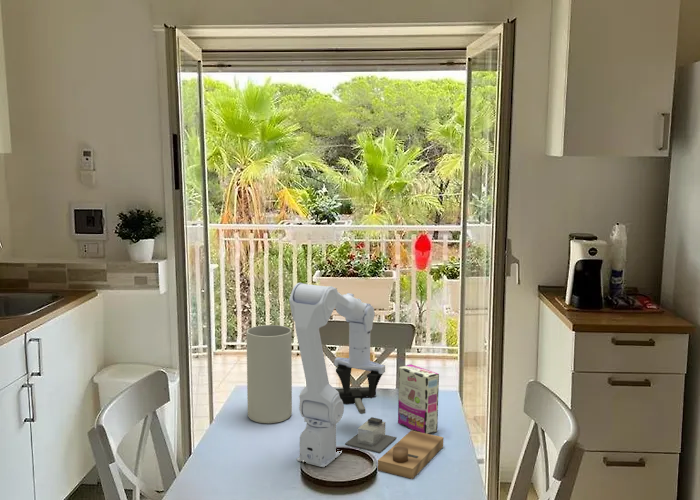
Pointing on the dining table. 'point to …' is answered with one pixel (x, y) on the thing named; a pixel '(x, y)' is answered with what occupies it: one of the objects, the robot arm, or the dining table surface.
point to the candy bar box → (418, 399)
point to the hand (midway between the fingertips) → (359, 394)
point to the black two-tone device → (355, 397)
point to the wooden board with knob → (410, 454)
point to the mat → (377, 448)
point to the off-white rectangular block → (371, 432)
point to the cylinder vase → (269, 373)
